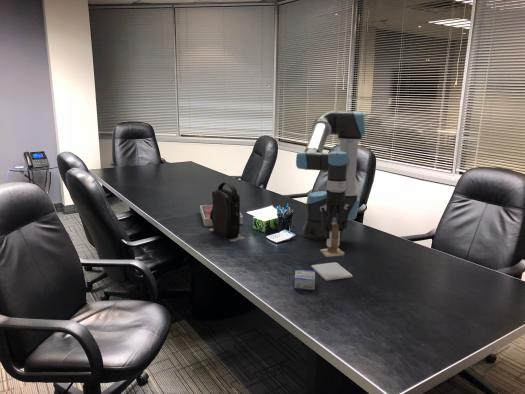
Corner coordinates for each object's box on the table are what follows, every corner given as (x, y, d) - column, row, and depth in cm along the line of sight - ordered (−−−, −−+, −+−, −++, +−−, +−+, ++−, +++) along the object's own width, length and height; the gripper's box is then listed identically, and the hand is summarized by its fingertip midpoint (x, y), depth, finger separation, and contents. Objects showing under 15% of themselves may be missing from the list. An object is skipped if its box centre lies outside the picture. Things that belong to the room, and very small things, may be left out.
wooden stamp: (320, 251, 174) (322, 222, 171) (337, 249, 176) (339, 220, 173) (326, 257, 168) (328, 226, 165) (344, 255, 171) (346, 225, 167)
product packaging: (234, 211, 263) (234, 203, 261) (242, 225, 236) (242, 216, 235) (200, 213, 258) (200, 205, 257) (204, 227, 231) (204, 218, 230)
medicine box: (315, 270, 165) (315, 279, 156) (314, 280, 166) (314, 290, 157) (295, 269, 166) (294, 278, 157) (295, 279, 167) (293, 289, 158)
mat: (311, 267, 179) (311, 265, 179) (336, 263, 183) (336, 262, 182) (325, 280, 166) (326, 278, 166) (352, 277, 170) (352, 275, 169)
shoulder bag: (246, 238, 213) (246, 185, 206) (231, 241, 208) (231, 187, 201) (223, 227, 231) (222, 177, 224) (208, 230, 225) (207, 179, 218)
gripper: (322, 193, 160) (319, 250, 165) (358, 191, 165) (354, 246, 170) (313, 189, 167) (311, 244, 172) (349, 187, 172) (345, 240, 177)
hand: (332, 245), depth 171 cm, fingers closed on wooden stamp, 3 cm apart
